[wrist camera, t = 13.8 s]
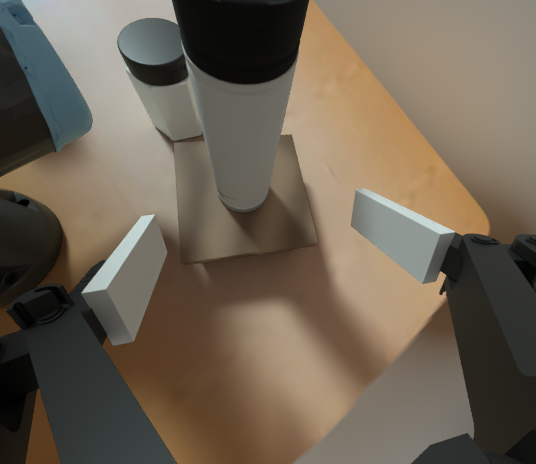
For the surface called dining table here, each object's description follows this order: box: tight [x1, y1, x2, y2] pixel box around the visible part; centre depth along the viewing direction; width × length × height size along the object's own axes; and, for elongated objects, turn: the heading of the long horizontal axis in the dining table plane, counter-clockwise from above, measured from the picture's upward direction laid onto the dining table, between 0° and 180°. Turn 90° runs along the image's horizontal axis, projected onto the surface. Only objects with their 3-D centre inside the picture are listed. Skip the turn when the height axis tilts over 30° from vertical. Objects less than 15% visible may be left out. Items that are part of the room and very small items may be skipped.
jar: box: [117, 18, 202, 141], centre depth 31 cm, size 9×8×12 cm
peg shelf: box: [174, 135, 318, 265], centre depth 30 cm, size 16×16×6 cm
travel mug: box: [172, 0, 309, 213], centre depth 18 cm, size 6×7×20 cm
